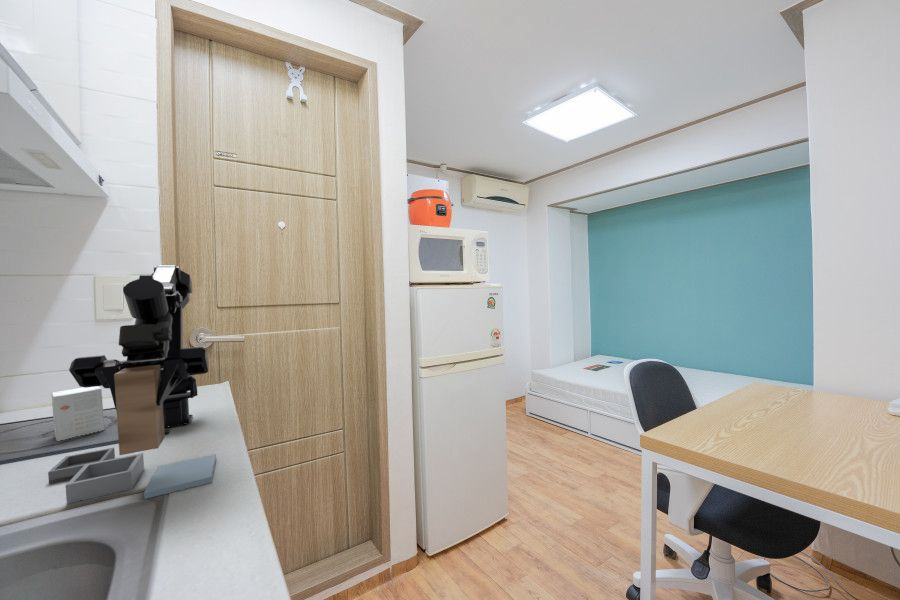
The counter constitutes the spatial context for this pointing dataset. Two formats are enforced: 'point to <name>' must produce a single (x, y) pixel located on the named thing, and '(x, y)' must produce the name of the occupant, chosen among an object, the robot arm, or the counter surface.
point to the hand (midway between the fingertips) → (138, 407)
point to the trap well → (77, 464)
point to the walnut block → (139, 409)
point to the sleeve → (105, 478)
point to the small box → (77, 412)
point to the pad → (181, 475)
